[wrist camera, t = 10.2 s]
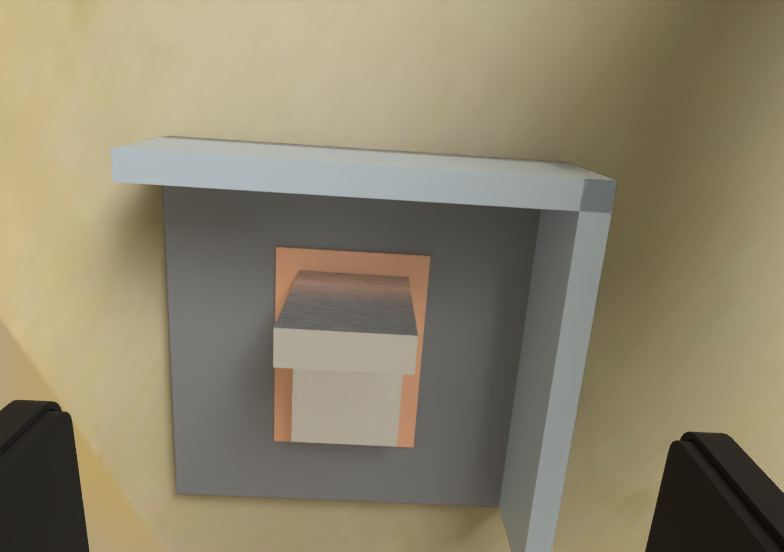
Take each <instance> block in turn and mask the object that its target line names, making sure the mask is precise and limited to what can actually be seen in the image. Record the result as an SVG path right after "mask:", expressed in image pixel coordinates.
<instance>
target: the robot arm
mask: <svg viewBox="0 0 784 552" xmlns="http://www.w3.org/2000/svg"><path fill="white" fill-rule="evenodd" d="M0 552H89V545H88V538H87V530H86V522H85V515H84V508H83V500H82V492H81V485H80V478H79V470H78V462H77V454H76V447H75V440H74V432H73V424H72V419H71V416H70V414H69V413H67V412H62V410H61V407H60V406H59V404H58V403H56V402H52V401H31V400H14V401H12V402H11V403H9V404H8V405H7V406H5V407H4V408H3V409H2V410H1V411H0ZM645 552H784V493H783V492H782V491H781V490H780V489H779V488H778V487H777V486H776V485H775V483H774V482H773V481H772V480H771V479H770V478H769V477H768V476H767V475H766V474H765V473H764V472H763V471H762V470H761V469H760V468H759V466H758V465H757V464H756V463H755V462H754V461H753V460H752V459H751V458H750V457H749V456H748V455H747V454H746V453H745V452H744V451H743V450H742V448H741V447H740V446H739V445H738V444H737V443H736V442H735V441H734V440H733V439H732V438H731V437H730V436H728V435H727V434H723V433H706V432H686V433H684V434H683V436H682V437H681V439H680V441H674V442H672V444H671V445H670V448H669V451H668V456H667V460H666V464H665V469H664V473H663V477H662V482H661V486H660V490H659V495H658V499H657V503H656V507H655V512H654V516H653V520H652V525H651V529H650V533H649V538H648V542H647V546H646V550H645Z"/></svg>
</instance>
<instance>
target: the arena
mask: <svg viewBox="0 0 784 552" xmlns="http://www.w3.org/2000/svg"><path fill="white" fill-rule="evenodd" d="M111 162H112V176H113V182H119V183H135V184H151V185H163V201H164V224H165V246H166V268H167V290H168V312H169V334H170V357H171V379H172V401H173V423H174V445H175V467H176V490H177V494H197V495H221V496H245V497H268V498H292V499H316V500H339V501H363V502H387V503H410V504H434V505H458V506H481V507H499V510H500V513H501V517H502V520H503V524H504V527H505V531H506V534H507V537H508V541H509V544H510V548H511V551H512V552H552V549H553V544H554V538H555V532H556V527H557V521H558V515H559V510H560V504H561V498H562V493H563V487H564V481H565V476H566V470H567V464H568V459H569V453H570V447H571V442H572V436H573V430H574V425H575V419H576V413H577V408H578V402H579V396H580V391H581V385H582V379H583V374H584V368H585V362H586V357H587V351H588V345H589V340H590V334H591V328H592V323H593V317H594V311H595V306H596V300H597V294H598V289H599V283H600V277H601V272H602V266H603V260H604V255H605V249H606V243H607V238H608V232H609V226H610V221H611V215H612V209H613V204H614V198H615V192H616V187H617V180H614V179H612V178H609V177H606V176H603V175H601V174H598V173H595V172H592V171H590V170H587V169H584V168H581V167H579V166H576V165H573V164H571V163H568V162H555V161H540V160H525V159H510V158H494V157H479V156H464V155H449V154H434V153H419V152H404V151H388V150H373V149H358V148H343V147H328V146H313V145H298V144H282V143H267V142H252V141H237V140H222V139H207V138H192V137H176V136H166V137H161V138H156V139H151V140H146V141H141V142H136V143H131V144H126V145H121V146H116V147H111ZM299 270H304V271H321V272H337V273H354V274H371V275H388V276H405V277H409V283H410V289H411V296H412V302H413V308H414V314H415V320H416V326H417V332H418V343H417V354H416V365H415V375H407V374H403V380H402V392H401V404H400V416H399V429H398V441H397V447H394V446H373V445H352V444H331V443H310V442H291V434H292V389H293V368H274V367H273V334H274V326H275V324H276V321H277V319H278V317H279V315H280V312H281V310H282V308H283V306H284V303H285V301H286V299H287V297H288V294H289V292H290V290H291V288H292V286H293V283H294V281H295V279H296V277H297V274H298V272H299Z"/></svg>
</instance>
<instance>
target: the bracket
mask: <svg viewBox="0 0 784 552" xmlns="http://www.w3.org/2000/svg"><path fill="white" fill-rule="evenodd" d="M417 343H418V332H417V326H416V320H415V314H414V308H413V302H412V296H411V289H410V283H409V277H405V276H388V275H371V274H354V273H337V272H321V271H304V270H299V272H298V274H297V277H296V279H295V281H294V283H293V286H292V288H291V290H290V292H289V294H288V297H287V299H286V301H285V303H284V306H283V308H282V310H281V312H280V315H279V317H278V319H277V321H276V324H275V326H274V334H273V367H274V368H293V389H292V434H291V442H310V443H331V444H352V445H373V446H394V447H397V441H398V429H399V416H400V404H401V392H402V380H403V374H407V375H415V365H416V354H417Z"/></svg>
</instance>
